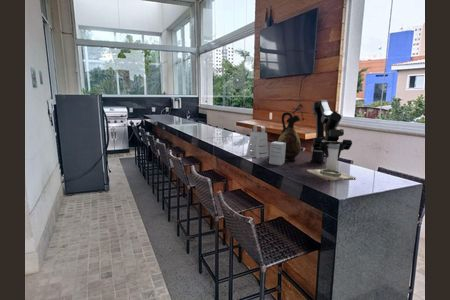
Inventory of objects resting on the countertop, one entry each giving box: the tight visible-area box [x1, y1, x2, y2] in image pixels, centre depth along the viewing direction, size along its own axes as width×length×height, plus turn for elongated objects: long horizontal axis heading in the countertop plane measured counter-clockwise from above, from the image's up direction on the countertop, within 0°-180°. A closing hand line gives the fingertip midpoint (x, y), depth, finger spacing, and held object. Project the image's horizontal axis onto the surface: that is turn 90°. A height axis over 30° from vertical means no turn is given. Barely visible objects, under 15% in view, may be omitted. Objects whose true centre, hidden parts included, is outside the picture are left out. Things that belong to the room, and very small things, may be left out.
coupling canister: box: [325, 143, 340, 170], centre depth 140 cm, size 5×5×13 cm
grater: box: [245, 124, 269, 159], centre depth 180 cm, size 10×10×20 cm
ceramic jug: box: [276, 111, 302, 161], centre depth 175 cm, size 17×15×30 cm
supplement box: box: [268, 140, 286, 166], centre depth 161 cm, size 7×7×13 cm
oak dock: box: [306, 168, 356, 182], centre depth 142 cm, size 17×17×2 cm
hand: (333, 157), depth 139 cm, fingers closed on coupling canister, 5 cm apart
